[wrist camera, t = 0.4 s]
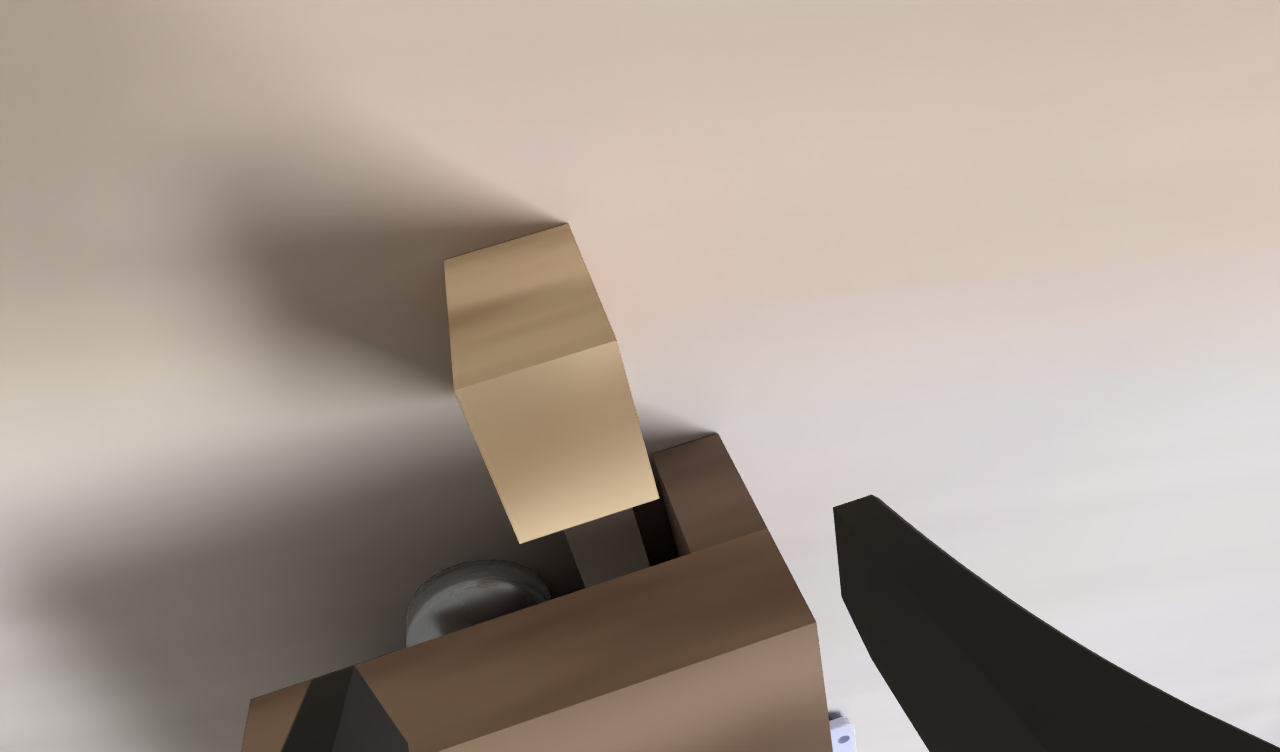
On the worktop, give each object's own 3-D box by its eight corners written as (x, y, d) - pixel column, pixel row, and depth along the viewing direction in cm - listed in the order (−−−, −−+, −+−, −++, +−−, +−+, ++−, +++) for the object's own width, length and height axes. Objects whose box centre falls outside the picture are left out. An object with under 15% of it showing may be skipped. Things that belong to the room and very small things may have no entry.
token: (565, 626, 27) (572, 663, 26) (436, 669, 27) (437, 710, 25) (527, 535, 24) (533, 572, 23) (383, 582, 24) (382, 622, 23)
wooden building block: (680, 621, 28) (733, 771, 23) (596, 649, 27) (632, 807, 23) (568, 223, 19) (616, 340, 15) (443, 260, 19) (453, 390, 14)
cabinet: (759, 642, 29) (843, 836, 24) (406, 763, 28) (406, 995, 23) (717, 433, 24) (815, 622, 18) (273, 575, 23) (227, 823, 17)
